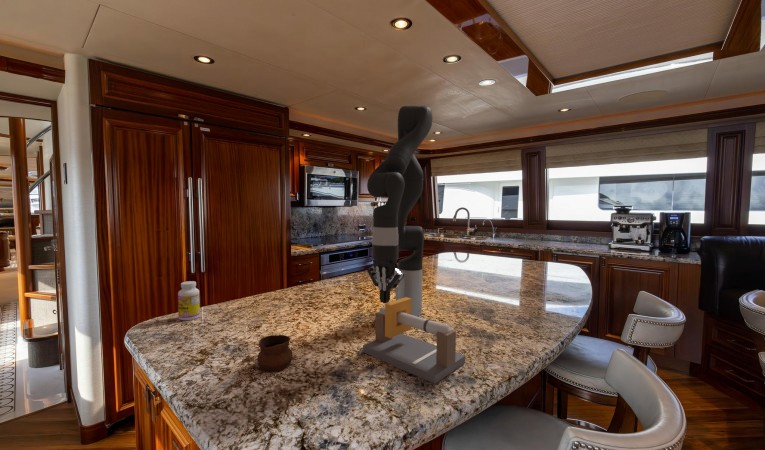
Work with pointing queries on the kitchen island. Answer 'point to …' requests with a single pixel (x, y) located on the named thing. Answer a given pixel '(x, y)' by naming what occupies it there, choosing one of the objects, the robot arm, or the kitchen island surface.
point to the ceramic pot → (274, 353)
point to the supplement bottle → (188, 301)
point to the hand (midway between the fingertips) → (384, 302)
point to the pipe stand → (416, 348)
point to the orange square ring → (391, 316)
